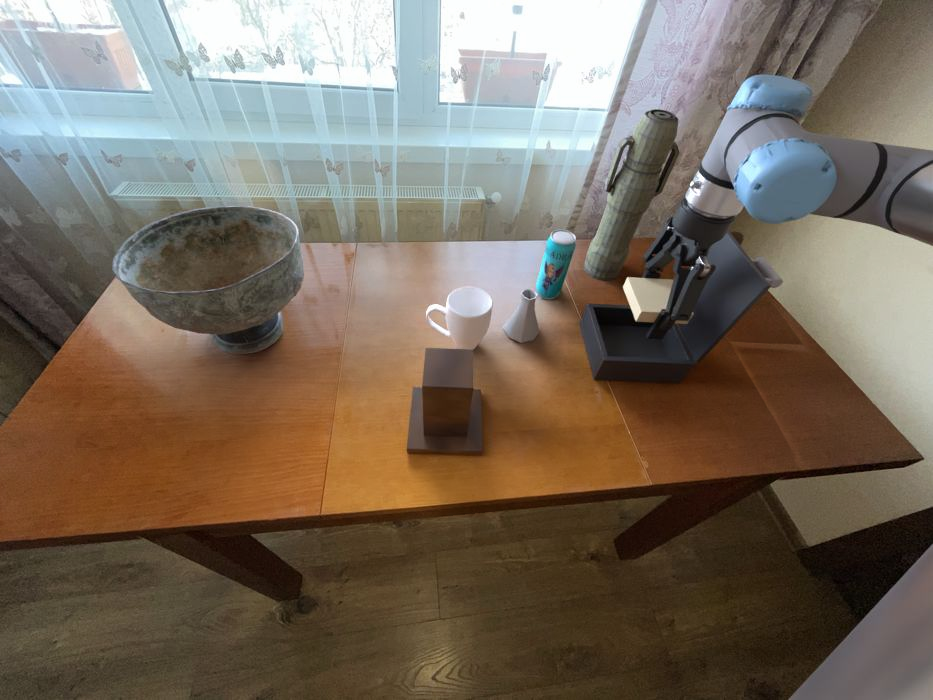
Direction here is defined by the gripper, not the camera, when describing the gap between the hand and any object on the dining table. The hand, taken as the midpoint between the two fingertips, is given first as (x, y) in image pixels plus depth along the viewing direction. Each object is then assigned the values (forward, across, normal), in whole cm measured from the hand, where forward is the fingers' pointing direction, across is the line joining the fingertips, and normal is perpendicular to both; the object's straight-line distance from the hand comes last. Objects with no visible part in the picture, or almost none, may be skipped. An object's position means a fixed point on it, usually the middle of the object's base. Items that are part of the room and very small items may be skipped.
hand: (646, 318), depth 74 cm
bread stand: (+10, +18, -36) cm, 42 cm away
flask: (+10, -5, -21) cm, 24 cm away
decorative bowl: (+10, -2, -76) cm, 76 cm away
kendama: (+10, -24, +22) cm, 34 cm away
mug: (+10, 0, -35) cm, 36 cm away
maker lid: (-6, 0, +9) cm, 11 cm away
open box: (+10, 0, 0) cm, 10 cm away
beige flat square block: (-3, 0, 0) cm, 3 cm away
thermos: (+10, -27, +1) cm, 29 cm away
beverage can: (+10, -17, -14) cm, 24 cm away
